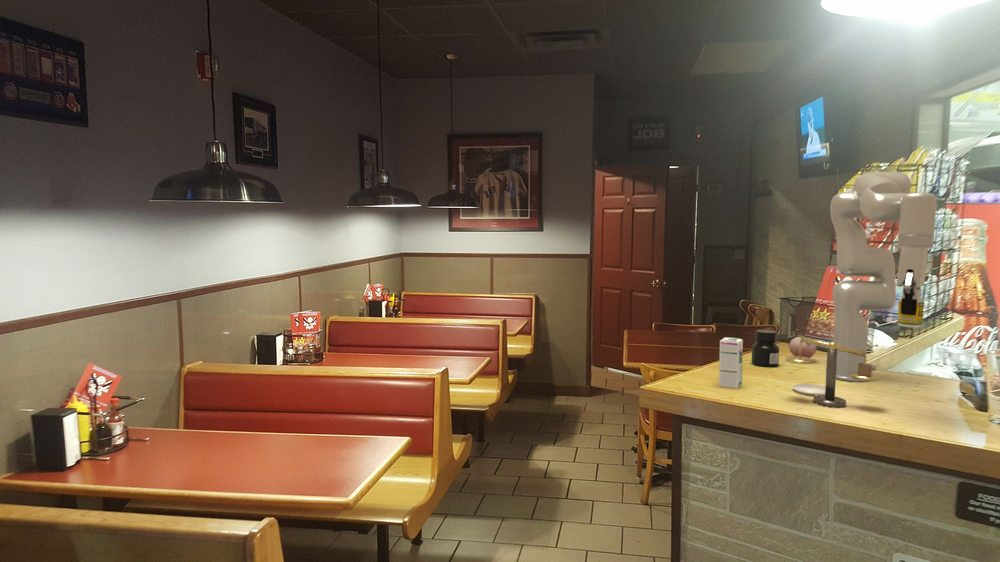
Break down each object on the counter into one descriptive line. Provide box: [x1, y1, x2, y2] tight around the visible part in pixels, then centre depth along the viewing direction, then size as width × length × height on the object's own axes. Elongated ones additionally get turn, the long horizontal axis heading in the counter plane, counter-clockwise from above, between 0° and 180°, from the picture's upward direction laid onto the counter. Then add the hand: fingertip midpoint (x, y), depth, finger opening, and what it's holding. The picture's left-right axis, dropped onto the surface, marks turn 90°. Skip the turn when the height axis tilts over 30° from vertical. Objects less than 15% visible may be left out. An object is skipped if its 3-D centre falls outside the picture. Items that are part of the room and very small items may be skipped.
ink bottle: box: [751, 329, 780, 368], centre depth 217 cm, size 10×9×12 cm
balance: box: [785, 336, 881, 409], centre depth 169 cm, size 8×23×18 cm, turn 62°
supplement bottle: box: [897, 288, 925, 329], centre depth 157 cm, size 5×5×10 cm
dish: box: [791, 383, 826, 396], centre depth 182 cm, size 11×11×1 cm
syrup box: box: [718, 337, 744, 390], centre depth 188 cm, size 6×6×14 cm
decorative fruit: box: [788, 333, 817, 359], centre depth 223 cm, size 9×8×10 cm
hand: (910, 312), depth 157 cm, fingers closed on supplement bottle, 5 cm apart
